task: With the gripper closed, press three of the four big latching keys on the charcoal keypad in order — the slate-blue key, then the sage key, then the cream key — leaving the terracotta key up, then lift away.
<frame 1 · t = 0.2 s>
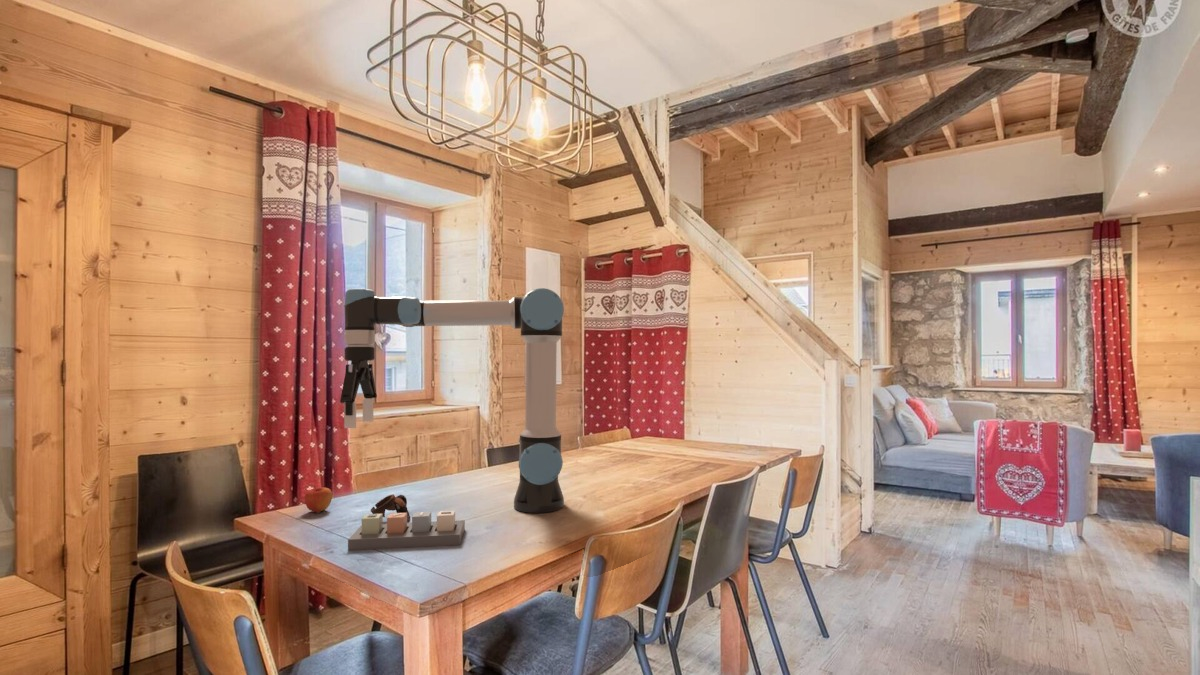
hand: (359, 424, 155), 28 cm above the table, fingers open, 13 cm apart
apple: (318, 512, 170), on the table
terracotta key: (397, 522, 144), point 4 cm above the table, slide at 0.0 cm
dark brown curved piece: (393, 521, 161), on the table
cream key: (446, 520, 146), point 4 cm above the table, slide at 0.0 cm
keypad board: (409, 539, 144), on the table
slate key: (421, 521, 145), point 4 cm above the table, slide at 0.0 cm
sage key: (372, 523, 143), point 4 cm above the table, slide at 0.0 cm
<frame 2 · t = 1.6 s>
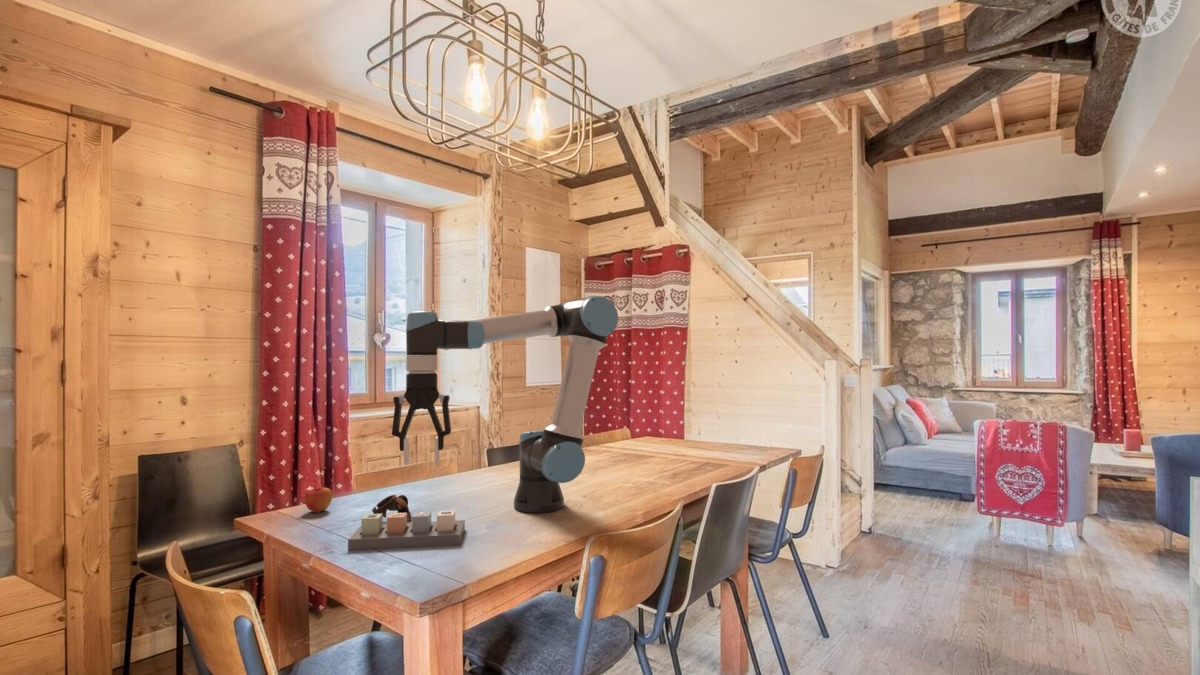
hand: (421, 463, 145), 19 cm above the table, fingers open, 7 cm apart
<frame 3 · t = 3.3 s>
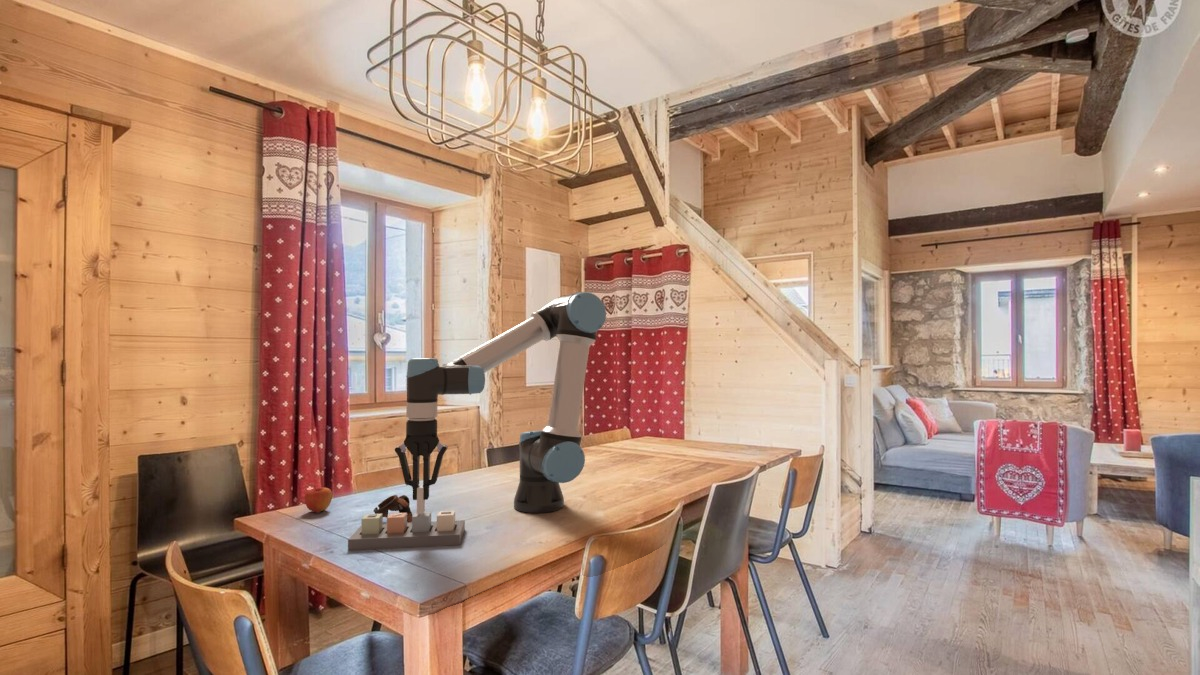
hand: (420, 512, 145), 7 cm above the table, fingers closed
slate key: (421, 521, 145), point 4 cm above the table, slide at 0.0 cm, touching gripper
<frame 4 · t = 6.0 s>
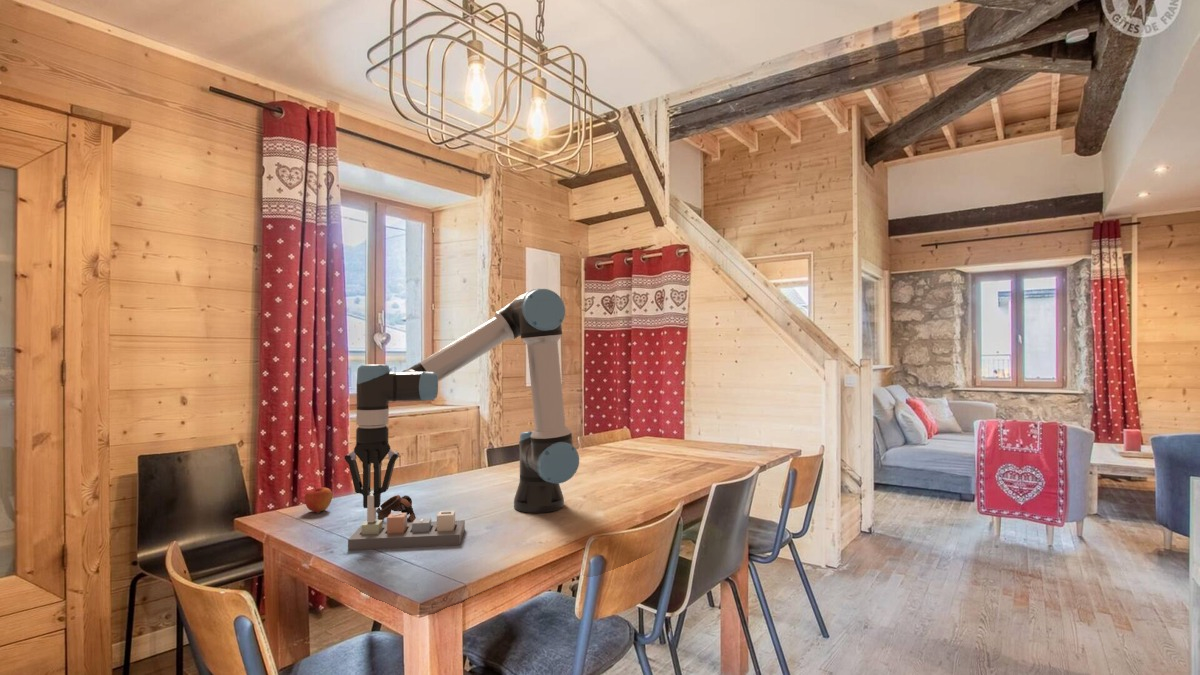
hand: (371, 520, 143), 5 cm above the table, fingers closed
slate key: (421, 528, 145), point 3 cm above the table, slide at 1.7 cm
sage key: (372, 530, 143), point 3 cm above the table, slide at 1.6 cm, touching gripper
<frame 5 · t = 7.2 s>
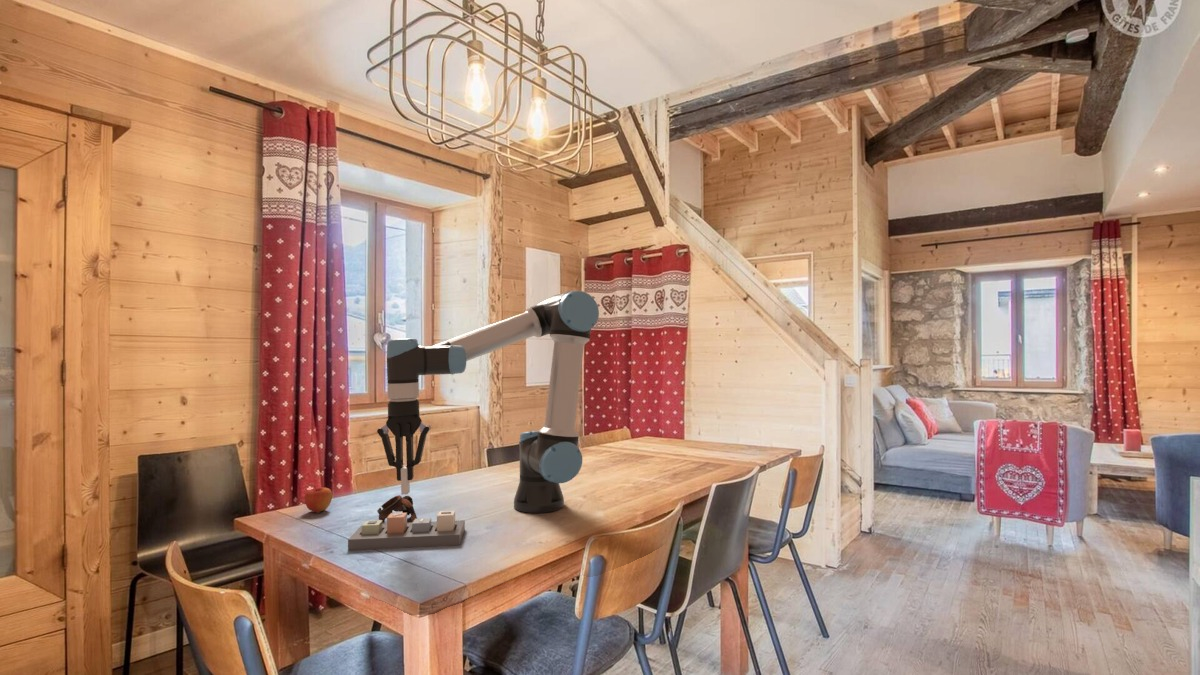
hand: (405, 493, 145), 12 cm above the table, fingers closed
sage key: (372, 530, 143), point 3 cm above the table, slide at 1.7 cm
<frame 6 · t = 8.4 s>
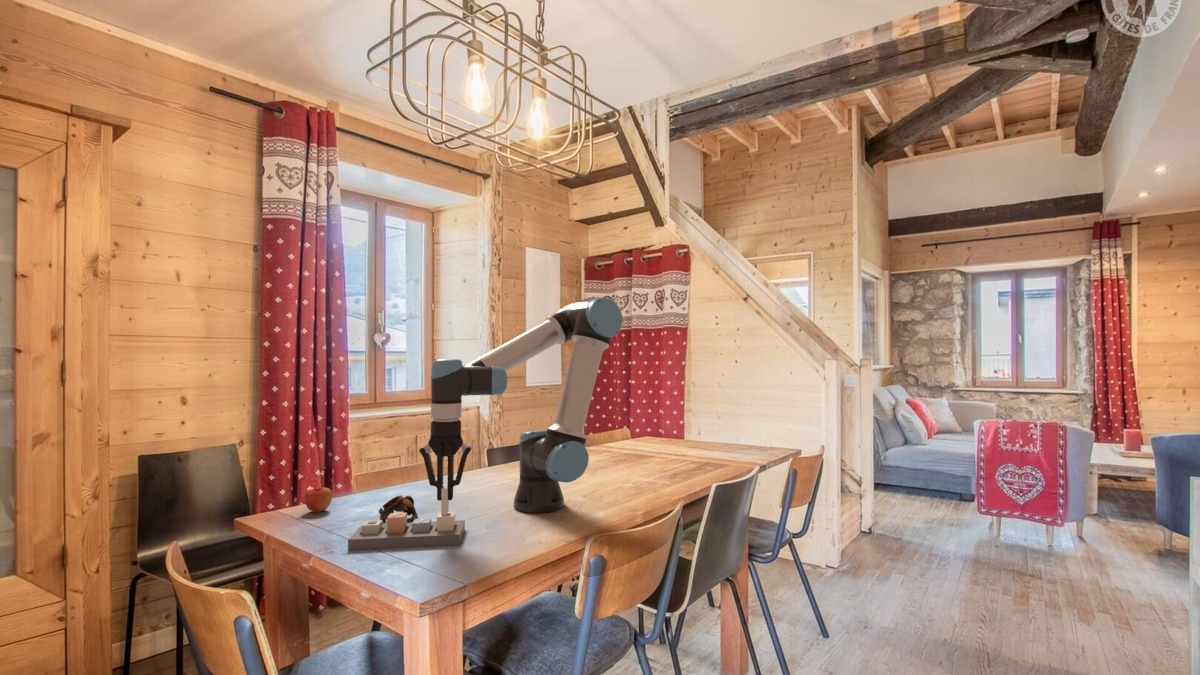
hand: (444, 513, 145), 6 cm above the table, fingers closed
cream key: (446, 522, 146), point 4 cm above the table, slide at 0.4 cm, touching gripper
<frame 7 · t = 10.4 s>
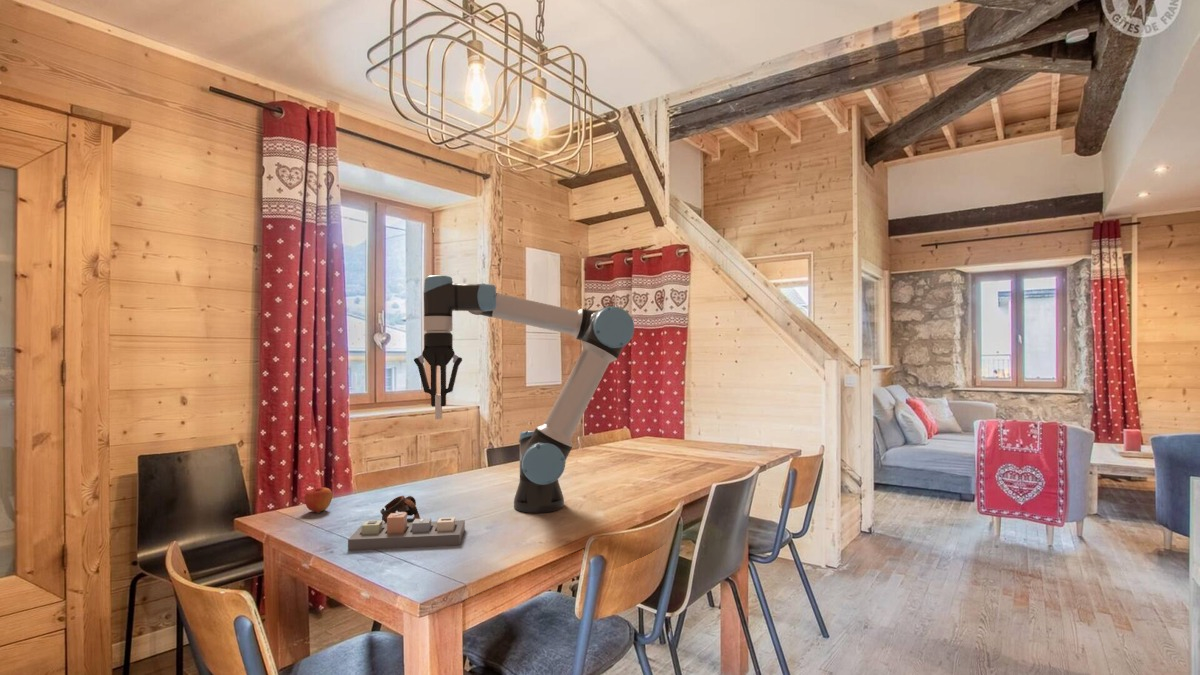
hand: (438, 418, 157), 29 cm above the table, fingers closed
cream key: (446, 527, 146), point 3 cm above the table, slide at 1.7 cm
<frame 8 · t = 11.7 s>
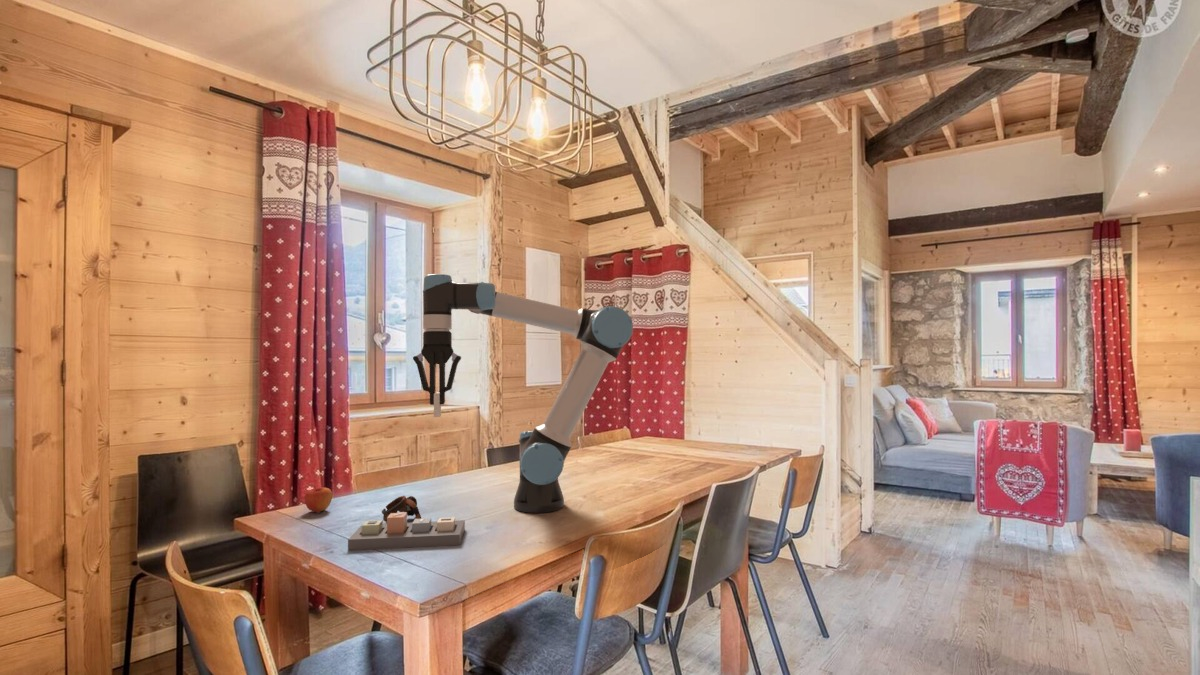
hand: (437, 416, 158), 29 cm above the table, fingers closed
at the end: slate key slide at 1.7 cm; sage key slide at 1.7 cm; cream key slide at 1.7 cm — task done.
